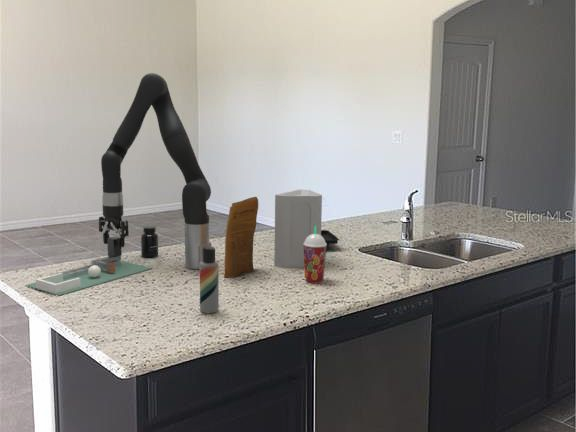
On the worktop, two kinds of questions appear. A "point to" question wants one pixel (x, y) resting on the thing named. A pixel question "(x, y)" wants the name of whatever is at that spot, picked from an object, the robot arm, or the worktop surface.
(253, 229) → the pancake mix bag
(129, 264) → the field
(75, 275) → the rail
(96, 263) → the block
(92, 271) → the ball
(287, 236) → the paper bag
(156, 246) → the supplement bottle
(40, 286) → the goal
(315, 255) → the smoothie
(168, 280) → the worktop surface
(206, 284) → the lotion bottle
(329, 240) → the tray
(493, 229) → the worktop surface
